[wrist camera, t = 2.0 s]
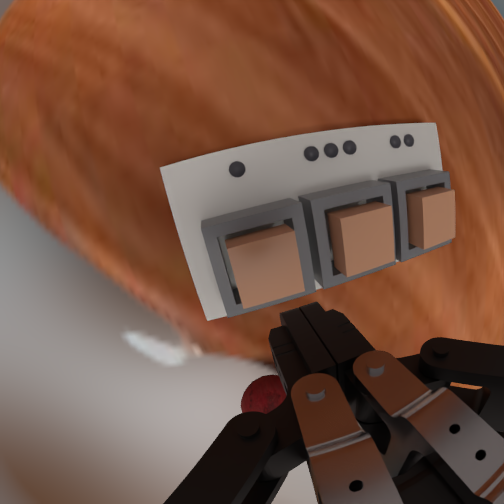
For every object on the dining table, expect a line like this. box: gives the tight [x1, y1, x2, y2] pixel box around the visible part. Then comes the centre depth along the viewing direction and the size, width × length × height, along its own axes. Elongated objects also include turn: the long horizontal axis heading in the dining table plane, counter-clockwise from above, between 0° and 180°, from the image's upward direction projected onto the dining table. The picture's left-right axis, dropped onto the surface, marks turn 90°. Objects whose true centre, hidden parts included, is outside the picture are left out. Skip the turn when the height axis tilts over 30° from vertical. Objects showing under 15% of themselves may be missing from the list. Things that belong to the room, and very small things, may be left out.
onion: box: [241, 375, 286, 414], centre depth 23 cm, size 6×6×8 cm
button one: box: [225, 224, 305, 309], centre depth 18 cm, size 4×4×2 cm
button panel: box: [160, 123, 451, 321], centre depth 20 cm, size 24×12×4 cm, turn 102°
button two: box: [406, 187, 455, 250], centre depth 19 cm, size 4×4×2 cm
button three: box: [327, 201, 395, 277], centre depth 18 cm, size 4×4×2 cm
